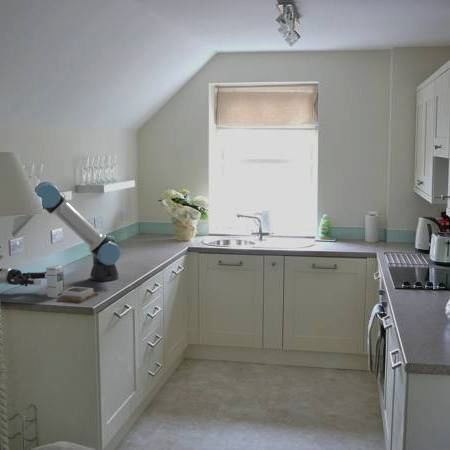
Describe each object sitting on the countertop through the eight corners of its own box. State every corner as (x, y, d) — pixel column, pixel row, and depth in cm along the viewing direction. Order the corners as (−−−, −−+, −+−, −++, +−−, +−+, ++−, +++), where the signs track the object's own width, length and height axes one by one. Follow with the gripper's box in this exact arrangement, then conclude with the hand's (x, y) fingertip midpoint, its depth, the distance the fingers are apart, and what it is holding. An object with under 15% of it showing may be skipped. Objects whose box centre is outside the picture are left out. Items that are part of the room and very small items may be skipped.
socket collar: (74, 291, 307) (73, 286, 307) (93, 293, 304) (93, 288, 303) (62, 296, 297) (62, 291, 297) (81, 298, 294) (81, 292, 294)
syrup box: (57, 298, 300) (56, 267, 299) (46, 296, 303) (45, 266, 301) (64, 295, 306) (63, 265, 304) (54, 294, 308) (53, 264, 306)
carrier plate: (75, 293, 310) (75, 290, 310) (97, 295, 306) (97, 292, 306) (57, 300, 295) (57, 297, 295) (80, 302, 291) (80, 299, 291)
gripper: (26, 279, 323) (63, 282, 316) (-6, 289, 299) (33, 293, 292) (26, 264, 322) (63, 267, 315) (-7, 274, 298) (32, 277, 292)
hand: (48, 279), depth 304 cm, fingers open, 13 cm apart
